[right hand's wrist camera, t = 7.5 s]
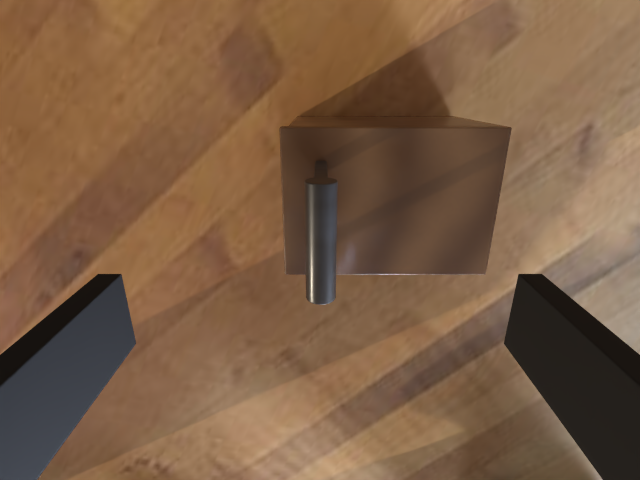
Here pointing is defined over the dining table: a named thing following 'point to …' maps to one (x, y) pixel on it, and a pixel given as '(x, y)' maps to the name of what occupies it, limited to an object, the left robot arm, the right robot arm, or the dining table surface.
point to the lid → (388, 200)
